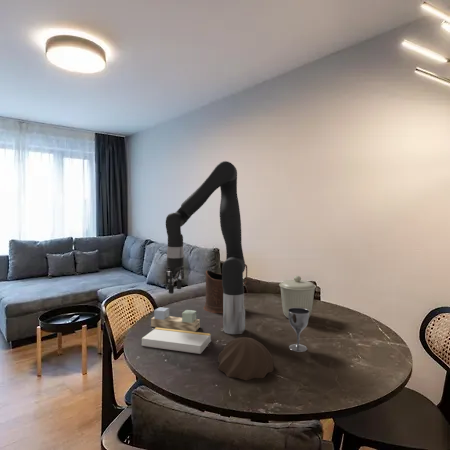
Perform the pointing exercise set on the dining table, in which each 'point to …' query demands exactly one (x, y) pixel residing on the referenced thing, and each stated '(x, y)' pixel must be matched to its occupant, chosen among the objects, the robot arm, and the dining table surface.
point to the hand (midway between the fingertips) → (175, 291)
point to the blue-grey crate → (161, 313)
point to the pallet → (175, 324)
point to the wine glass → (298, 325)
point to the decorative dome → (245, 359)
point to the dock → (177, 340)
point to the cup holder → (215, 292)
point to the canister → (297, 294)
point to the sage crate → (189, 316)
